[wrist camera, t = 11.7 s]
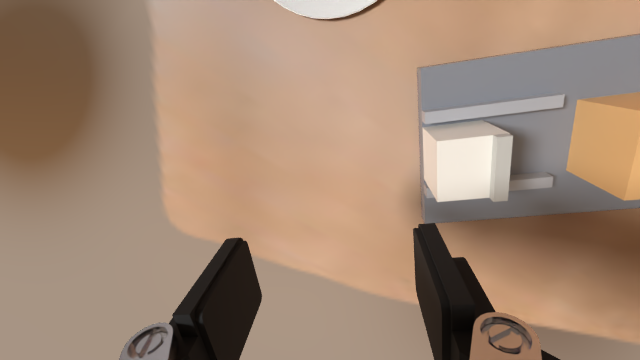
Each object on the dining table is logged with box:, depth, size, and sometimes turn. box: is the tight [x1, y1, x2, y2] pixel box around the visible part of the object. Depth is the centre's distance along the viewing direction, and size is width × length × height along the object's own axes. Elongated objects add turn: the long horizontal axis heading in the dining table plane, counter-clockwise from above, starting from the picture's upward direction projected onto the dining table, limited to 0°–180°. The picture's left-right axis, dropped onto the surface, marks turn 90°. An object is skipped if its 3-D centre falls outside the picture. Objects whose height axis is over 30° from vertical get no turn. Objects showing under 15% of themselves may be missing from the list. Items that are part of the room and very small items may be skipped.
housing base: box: [417, 34, 640, 224], centre depth 19 cm, size 18×12×5 cm, turn 99°
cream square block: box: [423, 120, 513, 202], centre depth 20 cm, size 4×4×5 cm
